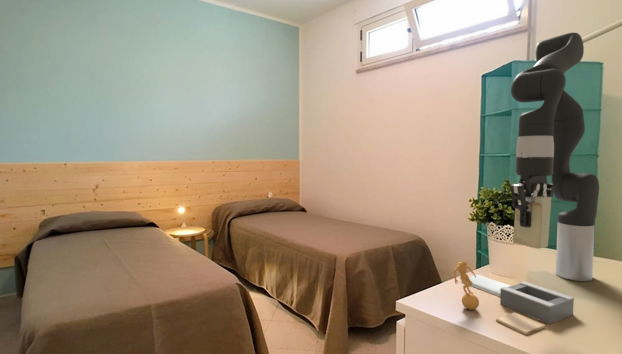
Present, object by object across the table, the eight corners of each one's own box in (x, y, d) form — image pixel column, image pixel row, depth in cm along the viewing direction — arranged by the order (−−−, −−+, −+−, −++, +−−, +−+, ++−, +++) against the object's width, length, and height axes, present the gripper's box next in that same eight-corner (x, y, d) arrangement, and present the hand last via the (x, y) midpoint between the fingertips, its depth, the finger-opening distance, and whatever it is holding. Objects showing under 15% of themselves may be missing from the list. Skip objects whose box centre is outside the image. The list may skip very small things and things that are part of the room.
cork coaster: (514, 314, 82) (514, 312, 82) (545, 327, 76) (545, 324, 76) (496, 321, 79) (496, 318, 79) (526, 335, 73) (526, 332, 73)
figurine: (467, 316, 82) (468, 268, 81) (446, 307, 87) (446, 261, 86) (487, 308, 86) (488, 262, 85) (465, 299, 91) (466, 256, 90)
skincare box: (512, 243, 83) (514, 194, 83) (522, 241, 86) (524, 194, 85) (539, 249, 78) (541, 197, 77) (549, 247, 80) (552, 196, 79)
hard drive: (461, 278, 104) (500, 292, 93) (478, 274, 108) (517, 287, 97) (461, 284, 104) (500, 298, 93) (478, 279, 108) (517, 292, 97)
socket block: (523, 296, 93) (524, 281, 93) (573, 314, 82) (573, 297, 82) (500, 303, 88) (500, 287, 88) (549, 323, 78) (549, 306, 77)
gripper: (536, 155, 87) (533, 221, 88) (500, 155, 81) (497, 225, 82) (568, 155, 80) (565, 226, 81) (532, 155, 74) (529, 231, 75)
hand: (531, 225), depth 81 cm, fingers closed on skincare box, 4 cm apart
